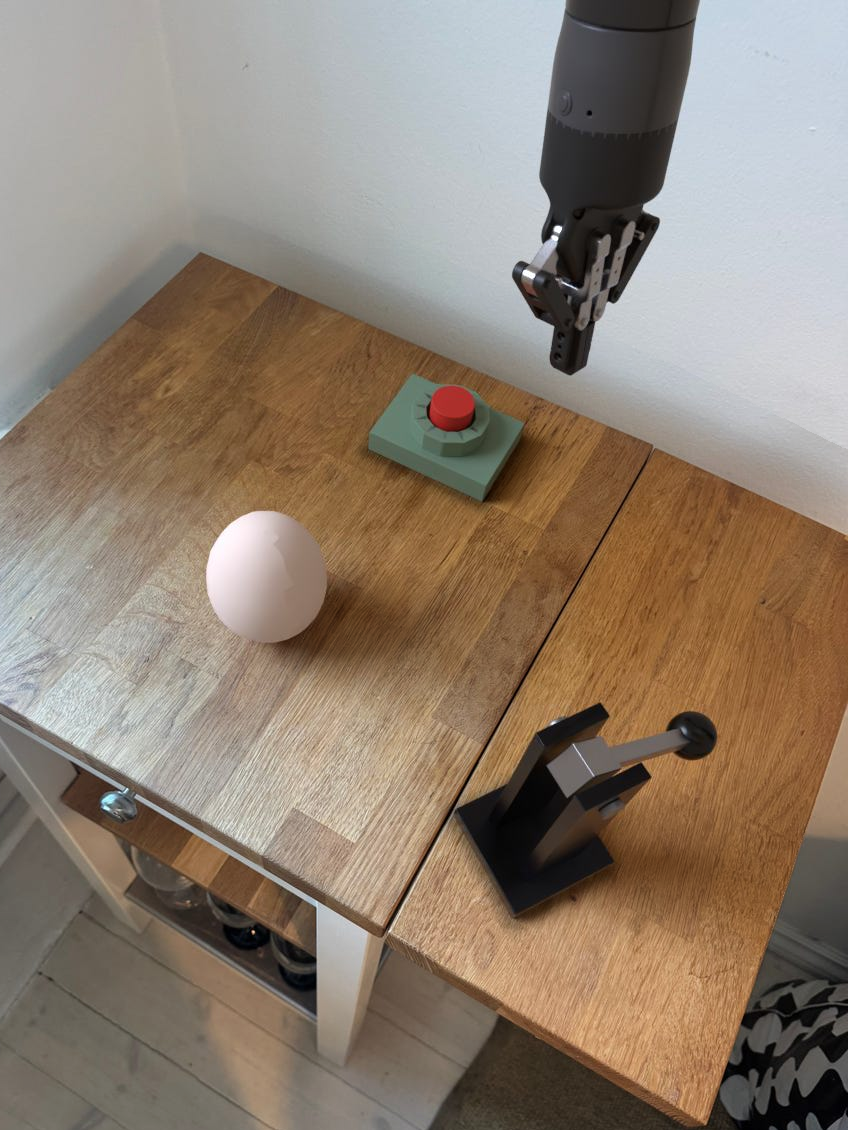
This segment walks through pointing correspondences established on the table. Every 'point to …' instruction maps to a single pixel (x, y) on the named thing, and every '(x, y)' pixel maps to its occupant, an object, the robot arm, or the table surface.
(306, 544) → the egg
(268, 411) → the table surface
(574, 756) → the lever
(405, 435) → the button box
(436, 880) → the table surface
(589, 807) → the bracket
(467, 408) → the button
